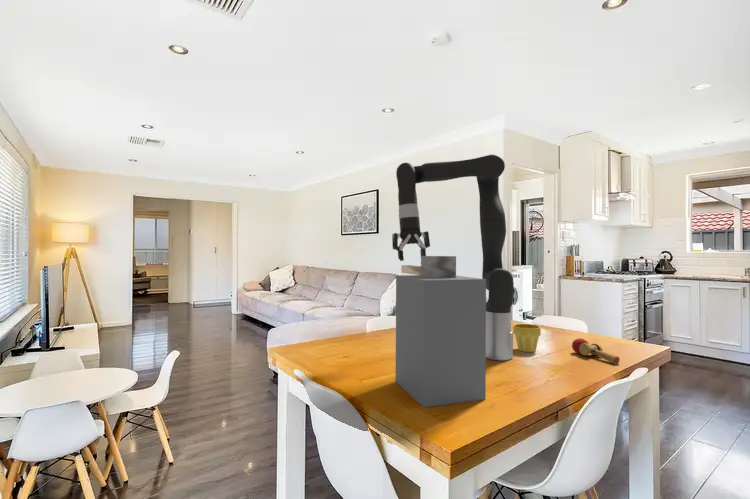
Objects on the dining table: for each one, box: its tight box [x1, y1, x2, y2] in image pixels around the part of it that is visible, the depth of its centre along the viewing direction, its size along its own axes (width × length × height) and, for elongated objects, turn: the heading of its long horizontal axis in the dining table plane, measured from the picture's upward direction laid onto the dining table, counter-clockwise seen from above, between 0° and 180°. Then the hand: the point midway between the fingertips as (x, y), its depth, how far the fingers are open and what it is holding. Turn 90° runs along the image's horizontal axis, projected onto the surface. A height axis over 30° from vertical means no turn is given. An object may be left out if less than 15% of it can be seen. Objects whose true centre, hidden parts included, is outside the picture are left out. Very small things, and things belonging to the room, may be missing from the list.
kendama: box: [571, 337, 621, 365], centre depth 144 cm, size 8×6×18 cm
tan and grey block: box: [400, 255, 457, 278], centre depth 120 cm, size 8×28×6 cm, turn 18°
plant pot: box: [512, 323, 542, 353], centre depth 154 cm, size 10×10×10 cm
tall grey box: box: [395, 274, 487, 408], centre depth 109 cm, size 18×20×32 cm
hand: (412, 260), depth 144 cm, fingers open, 8 cm apart
